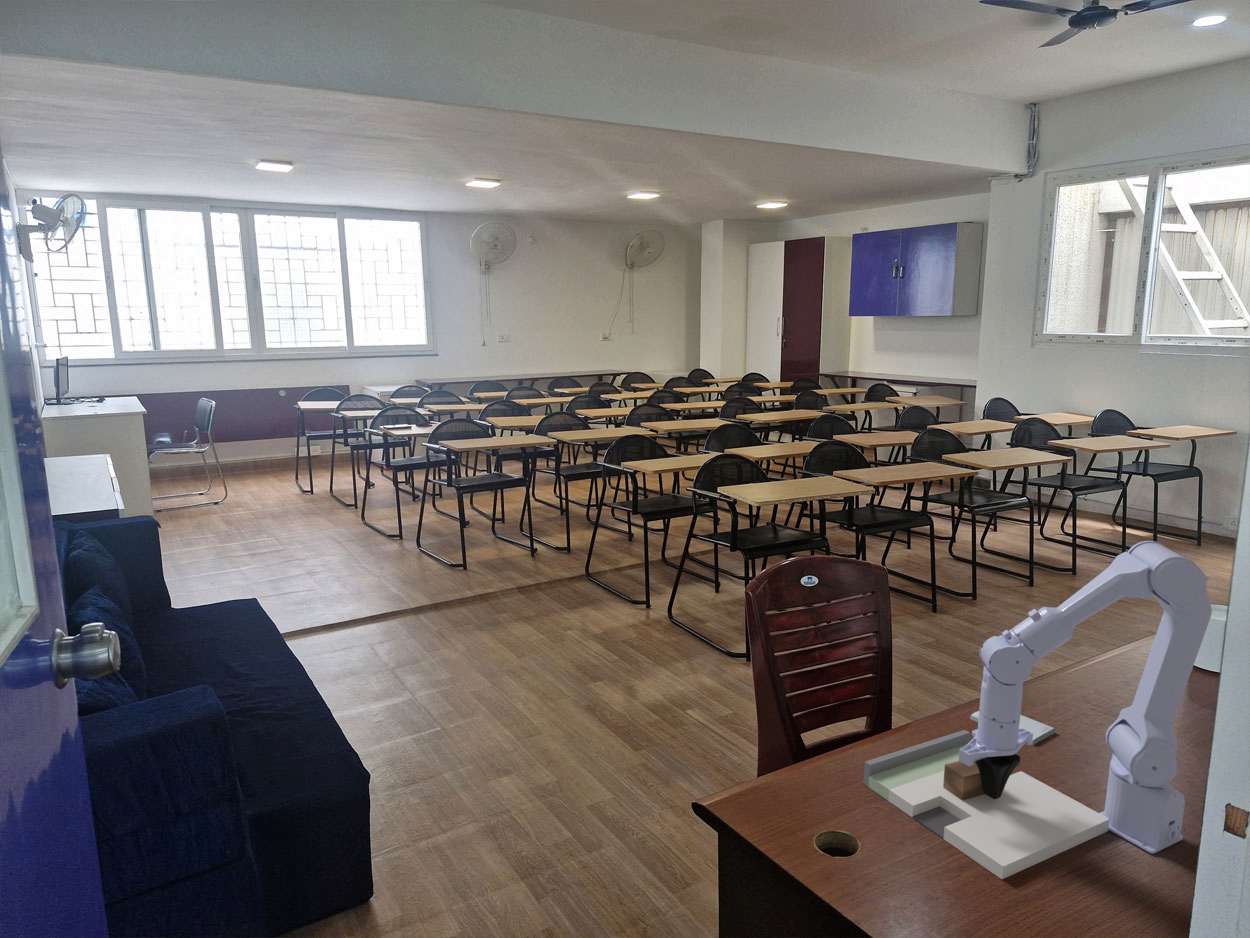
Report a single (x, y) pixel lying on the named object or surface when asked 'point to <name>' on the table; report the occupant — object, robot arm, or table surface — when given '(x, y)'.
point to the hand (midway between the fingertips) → (991, 795)
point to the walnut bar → (963, 780)
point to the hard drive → (1029, 727)
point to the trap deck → (983, 808)
